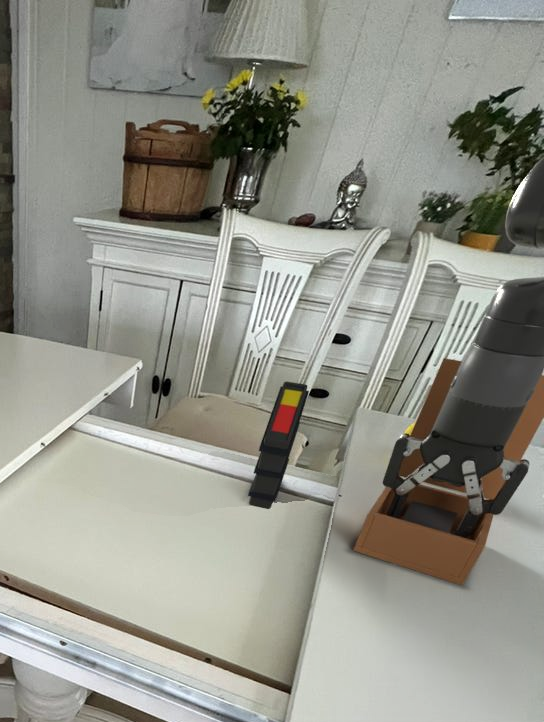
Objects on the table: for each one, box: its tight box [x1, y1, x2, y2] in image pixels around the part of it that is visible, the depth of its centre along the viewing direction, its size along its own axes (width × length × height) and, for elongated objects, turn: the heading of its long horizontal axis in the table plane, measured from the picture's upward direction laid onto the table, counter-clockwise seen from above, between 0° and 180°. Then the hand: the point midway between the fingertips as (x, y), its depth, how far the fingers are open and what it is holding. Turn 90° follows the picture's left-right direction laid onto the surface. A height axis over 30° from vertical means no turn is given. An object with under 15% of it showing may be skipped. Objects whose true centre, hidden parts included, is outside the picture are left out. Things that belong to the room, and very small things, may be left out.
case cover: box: [398, 357, 544, 500], centre depth 75 cm, size 14×13×6 cm
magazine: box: [247, 381, 310, 510], centre depth 82 cm, size 4×13×15 cm, turn 156°
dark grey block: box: [401, 501, 457, 533], centre depth 74 cm, size 6×10×3 cm, turn 145°
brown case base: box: [352, 483, 495, 586], centre depth 74 cm, size 14×13×5 cm
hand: (424, 528), depth 74 cm, fingers open, 7 cm apart
